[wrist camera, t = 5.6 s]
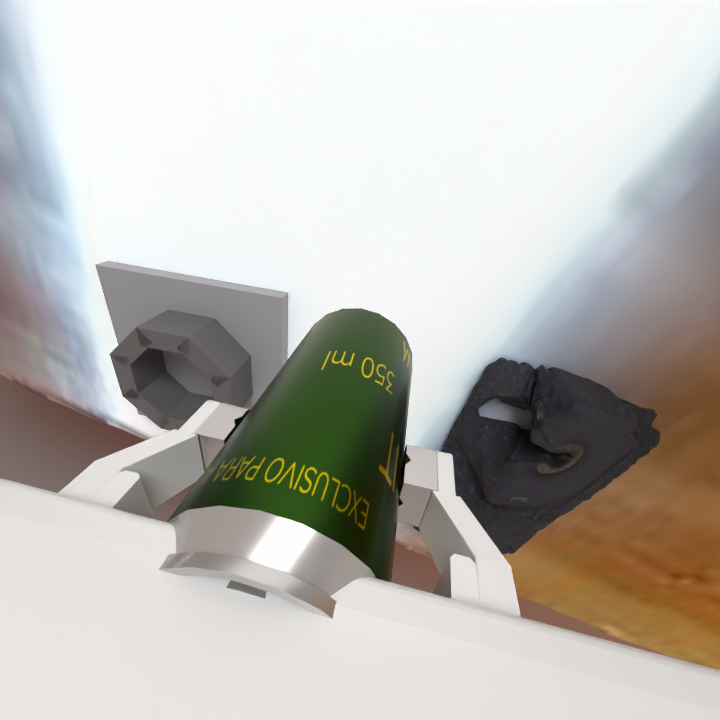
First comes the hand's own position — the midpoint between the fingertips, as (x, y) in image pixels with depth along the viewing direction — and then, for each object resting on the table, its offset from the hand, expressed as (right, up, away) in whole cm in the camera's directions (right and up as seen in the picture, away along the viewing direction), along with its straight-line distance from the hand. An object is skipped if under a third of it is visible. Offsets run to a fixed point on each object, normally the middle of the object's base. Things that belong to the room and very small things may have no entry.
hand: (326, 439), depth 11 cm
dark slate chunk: (+15, -7, +20) cm, 26 cm away
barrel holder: (-13, +3, +18) cm, 23 cm away
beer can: (+1, +3, +6) cm, 7 cm away
